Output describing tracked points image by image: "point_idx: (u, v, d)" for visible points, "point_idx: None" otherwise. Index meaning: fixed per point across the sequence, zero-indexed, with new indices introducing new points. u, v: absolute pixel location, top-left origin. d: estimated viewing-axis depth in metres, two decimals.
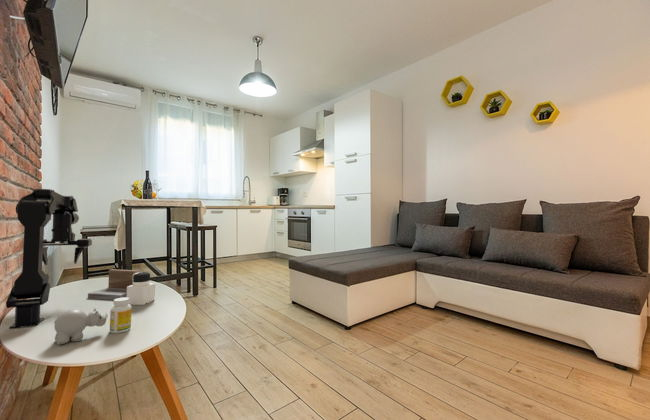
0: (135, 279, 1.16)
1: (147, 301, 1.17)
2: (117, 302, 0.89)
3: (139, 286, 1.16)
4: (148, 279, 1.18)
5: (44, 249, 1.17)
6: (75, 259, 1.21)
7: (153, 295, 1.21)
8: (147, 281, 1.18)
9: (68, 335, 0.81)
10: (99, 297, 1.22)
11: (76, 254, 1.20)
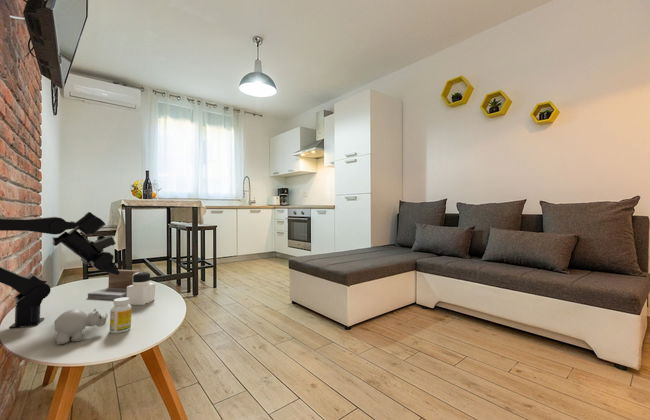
0: (135, 279, 1.16)
1: (147, 301, 1.17)
2: (117, 302, 0.89)
3: (139, 286, 1.16)
4: (148, 279, 1.18)
5: None
6: (112, 273, 1.07)
7: (153, 295, 1.21)
8: (147, 281, 1.18)
9: (68, 335, 0.81)
10: (99, 297, 1.22)
11: (105, 271, 1.05)
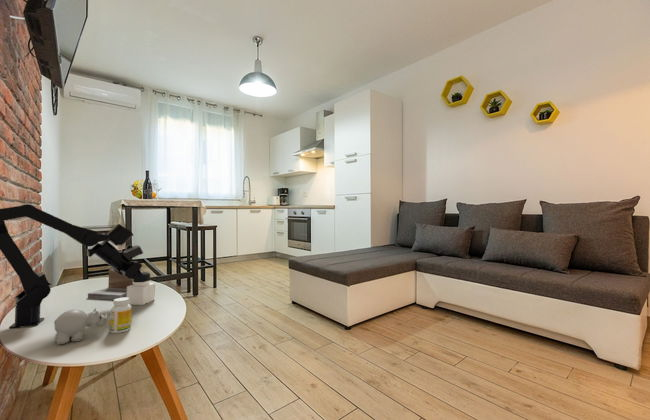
0: None
1: (147, 301, 1.17)
2: (117, 302, 0.89)
3: (139, 286, 1.16)
4: (148, 279, 1.18)
5: None
6: (139, 280, 1.15)
7: (153, 295, 1.21)
8: (147, 281, 1.18)
9: (68, 335, 0.81)
10: (99, 297, 1.22)
11: None
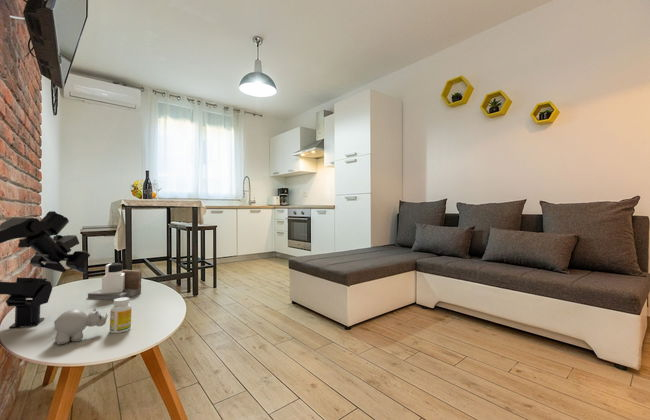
0: (111, 269, 1.24)
1: (123, 289, 1.27)
2: (117, 302, 0.89)
3: (117, 275, 1.25)
4: (122, 269, 1.28)
5: (51, 262, 1.06)
6: (81, 272, 1.07)
7: (124, 284, 1.30)
8: (122, 271, 1.28)
9: (68, 335, 0.81)
10: (99, 297, 1.22)
11: (77, 270, 1.05)
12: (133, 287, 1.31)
